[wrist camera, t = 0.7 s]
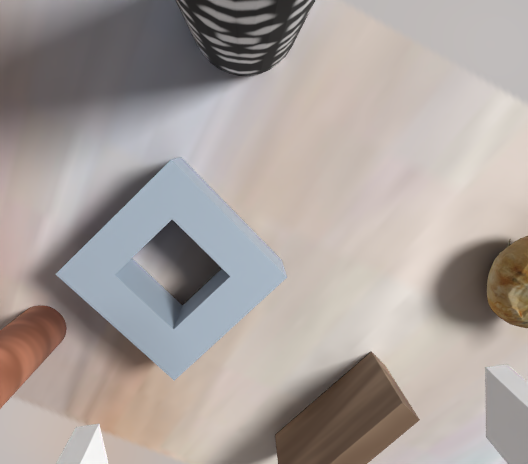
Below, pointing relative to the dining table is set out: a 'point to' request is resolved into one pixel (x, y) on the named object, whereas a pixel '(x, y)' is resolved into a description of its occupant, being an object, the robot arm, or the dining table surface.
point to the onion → (510, 284)
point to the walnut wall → (348, 419)
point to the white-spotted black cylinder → (245, 31)
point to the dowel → (27, 346)
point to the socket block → (151, 292)
